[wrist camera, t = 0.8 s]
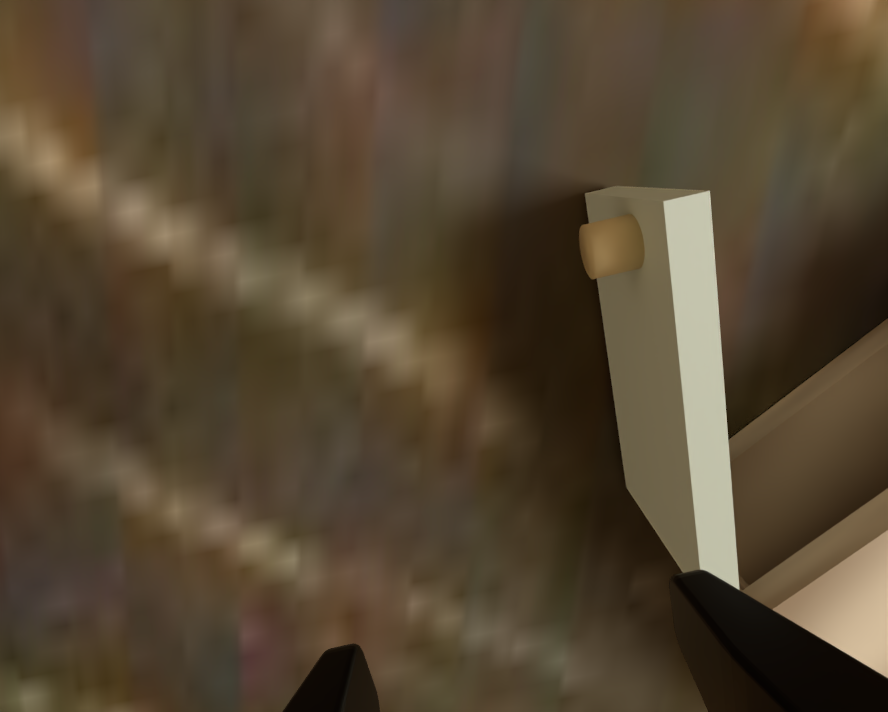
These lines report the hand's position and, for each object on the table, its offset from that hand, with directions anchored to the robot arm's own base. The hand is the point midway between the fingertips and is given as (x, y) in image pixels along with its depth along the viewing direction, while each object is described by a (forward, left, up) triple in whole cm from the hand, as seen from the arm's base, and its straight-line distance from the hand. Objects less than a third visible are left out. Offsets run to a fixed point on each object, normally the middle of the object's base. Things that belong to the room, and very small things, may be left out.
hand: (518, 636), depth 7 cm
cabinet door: (-4, -3, -13) cm, 14 cm away
